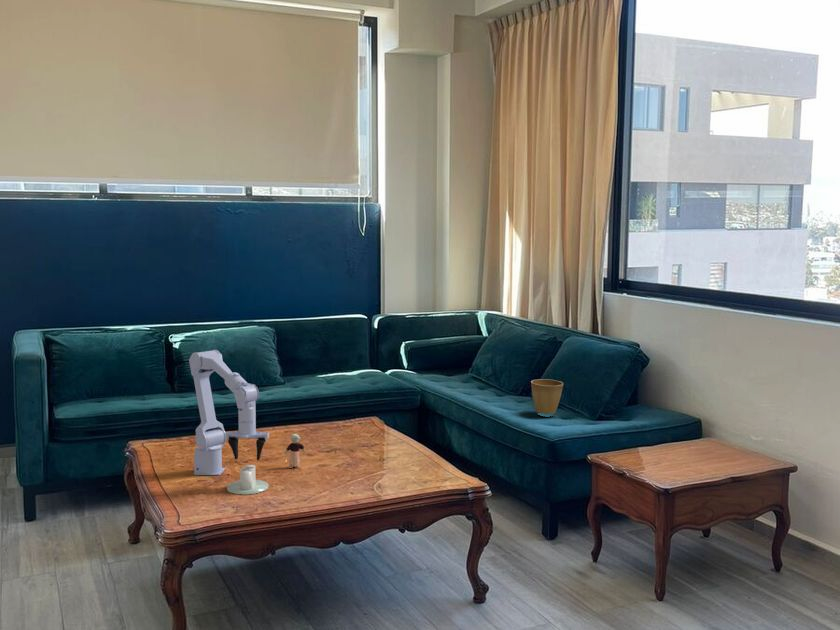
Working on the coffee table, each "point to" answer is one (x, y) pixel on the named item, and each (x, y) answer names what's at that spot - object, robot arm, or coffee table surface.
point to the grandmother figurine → (294, 451)
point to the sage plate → (257, 488)
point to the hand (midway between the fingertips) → (247, 458)
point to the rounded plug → (247, 477)
